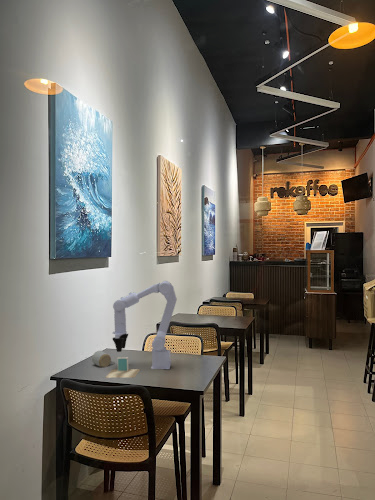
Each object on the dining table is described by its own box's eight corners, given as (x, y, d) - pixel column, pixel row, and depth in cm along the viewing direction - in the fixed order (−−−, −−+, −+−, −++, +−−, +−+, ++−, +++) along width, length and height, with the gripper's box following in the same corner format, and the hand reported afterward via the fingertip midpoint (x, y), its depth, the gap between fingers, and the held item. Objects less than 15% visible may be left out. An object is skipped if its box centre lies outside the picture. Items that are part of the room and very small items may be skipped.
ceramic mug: (99, 369, 205) (99, 354, 205) (91, 366, 211) (91, 351, 211) (117, 365, 212) (117, 351, 212) (109, 362, 218) (109, 348, 218)
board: (140, 370, 201) (140, 369, 201) (134, 378, 187) (134, 377, 187) (112, 370, 202) (112, 369, 202) (105, 378, 188) (105, 377, 188)
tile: (128, 370, 199) (128, 357, 199) (127, 371, 197) (127, 358, 197) (118, 370, 199) (118, 357, 200) (117, 371, 198) (117, 358, 198)
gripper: (116, 321, 213) (116, 346, 213) (108, 325, 199) (109, 353, 199) (129, 320, 213) (129, 346, 213) (122, 325, 198) (123, 353, 198)
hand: (121, 349), depth 206 cm, fingers open, 7 cm apart
